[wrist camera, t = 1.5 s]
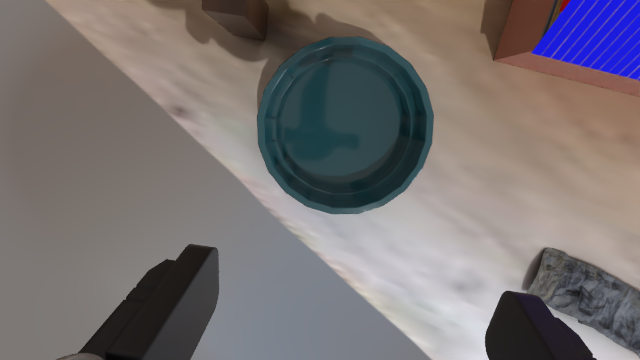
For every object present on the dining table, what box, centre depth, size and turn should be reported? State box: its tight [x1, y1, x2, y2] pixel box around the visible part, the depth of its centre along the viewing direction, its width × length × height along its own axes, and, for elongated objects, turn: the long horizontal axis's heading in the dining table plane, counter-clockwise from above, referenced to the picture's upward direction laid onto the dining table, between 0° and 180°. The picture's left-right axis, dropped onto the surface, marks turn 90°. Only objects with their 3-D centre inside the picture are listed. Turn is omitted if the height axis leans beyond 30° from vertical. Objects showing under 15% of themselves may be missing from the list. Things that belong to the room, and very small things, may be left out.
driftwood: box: [527, 248, 640, 358], centre depth 38 cm, size 21×7×2 cm, turn 60°
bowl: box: [257, 37, 434, 214], centre depth 31 cm, size 15×15×6 cm
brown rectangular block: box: [202, 0, 268, 40], centre depth 27 cm, size 3×3×9 cm
